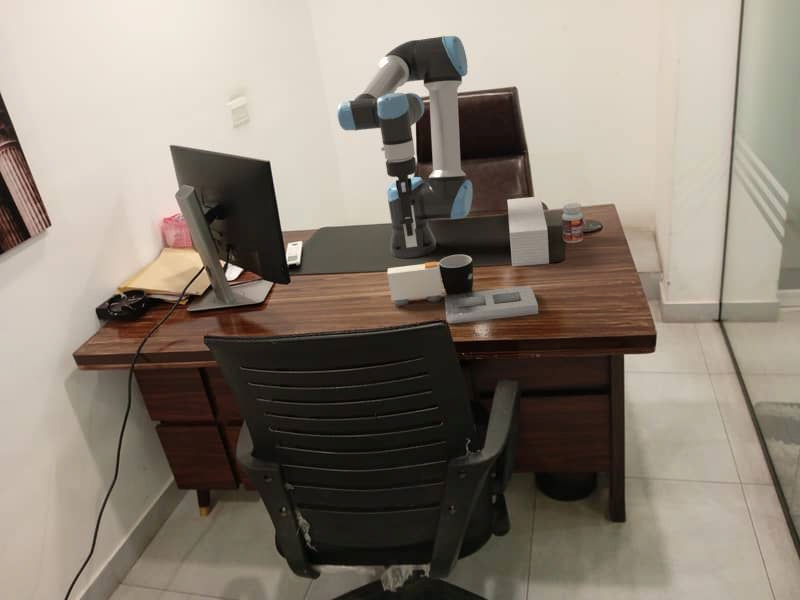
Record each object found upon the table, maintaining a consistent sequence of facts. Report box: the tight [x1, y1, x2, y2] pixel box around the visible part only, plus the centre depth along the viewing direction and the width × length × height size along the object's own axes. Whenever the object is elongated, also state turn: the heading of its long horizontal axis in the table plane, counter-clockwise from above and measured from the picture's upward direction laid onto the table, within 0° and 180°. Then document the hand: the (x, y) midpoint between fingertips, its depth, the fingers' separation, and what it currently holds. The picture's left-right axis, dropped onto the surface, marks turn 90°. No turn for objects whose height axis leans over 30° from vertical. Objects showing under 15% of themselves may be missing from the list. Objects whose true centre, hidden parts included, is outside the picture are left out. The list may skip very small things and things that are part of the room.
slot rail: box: [443, 285, 539, 325], centre depth 174 cm, size 12×23×2 cm, turn 89°
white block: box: [387, 261, 444, 307], centre depth 183 cm, size 4×14×10 cm, turn 89°
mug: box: [438, 254, 474, 295], centre depth 184 cm, size 12×9×10 cm
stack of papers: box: [507, 196, 550, 267], centre depth 208 cm, size 32×11×11 cm, turn 173°
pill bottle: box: [561, 202, 584, 244], centre depth 207 cm, size 6×6×11 cm
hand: (411, 237), depth 177 cm, fingers open, 13 cm apart
